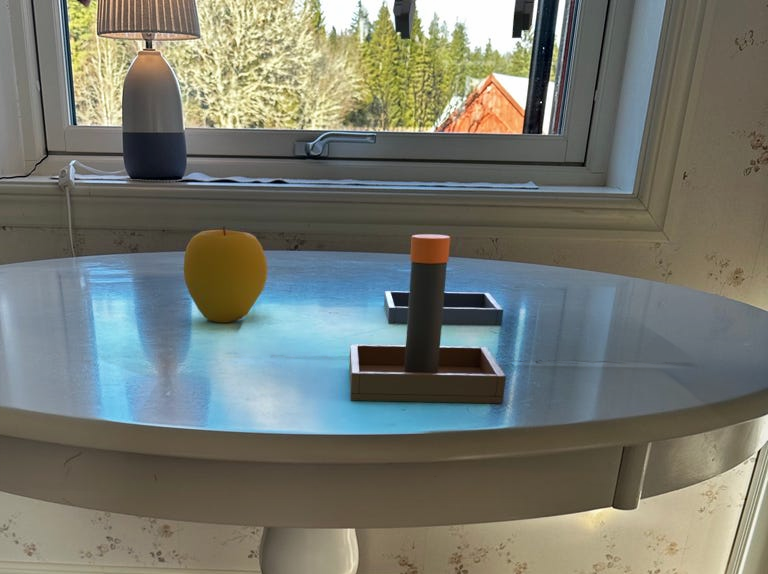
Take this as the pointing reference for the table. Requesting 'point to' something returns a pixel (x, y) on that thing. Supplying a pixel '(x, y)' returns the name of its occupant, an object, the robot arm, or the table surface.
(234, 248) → the apple
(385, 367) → the walnut tray
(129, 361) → the table surface
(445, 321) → the grey tray
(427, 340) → the marker
